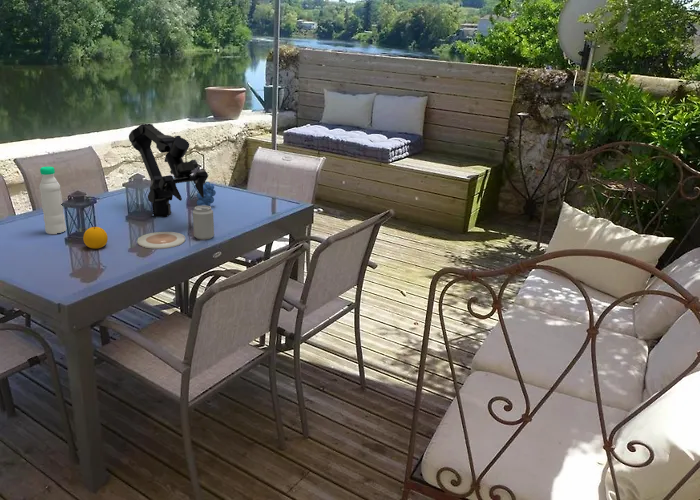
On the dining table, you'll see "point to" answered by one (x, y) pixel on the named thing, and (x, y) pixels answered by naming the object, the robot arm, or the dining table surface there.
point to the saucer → (161, 240)
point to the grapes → (206, 195)
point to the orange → (95, 237)
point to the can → (203, 222)
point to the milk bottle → (51, 202)
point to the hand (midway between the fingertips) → (192, 198)
